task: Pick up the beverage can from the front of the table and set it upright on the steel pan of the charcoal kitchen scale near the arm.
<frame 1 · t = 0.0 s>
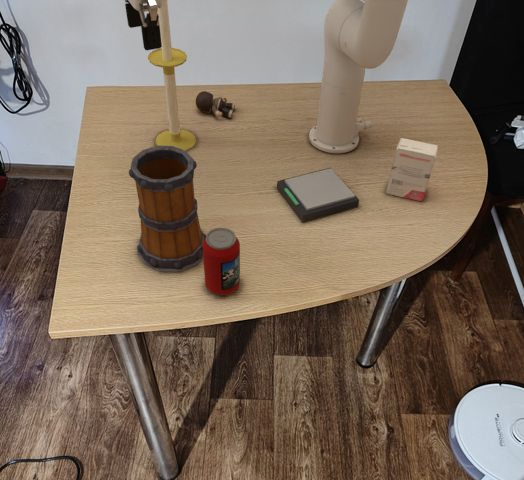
hand: (144, 37, 102), 31 cm above the table, tool pointing down, fingers open, 9 cm apart
beverage can: (222, 285, 108), on the table
scale: (316, 197, 125), on the table
figurine: (215, 112, 145), on the table
mug: (171, 241, 115), on the table
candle: (176, 141, 137), on the table
ink box: (405, 192, 127), on the table
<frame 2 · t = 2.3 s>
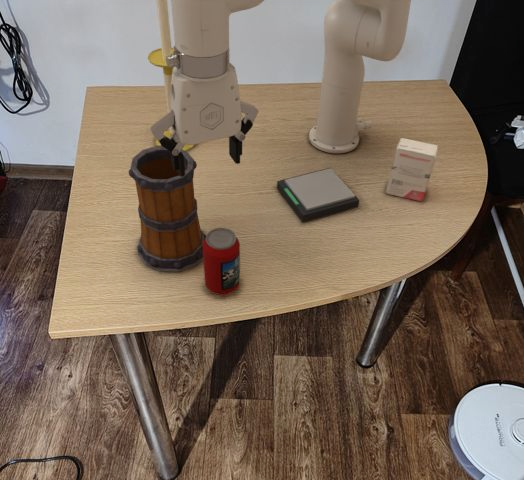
hand: (207, 165, 91), 24 cm above the table, tool pointing down, fingers open, 9 cm apart
nothing on the table moved.
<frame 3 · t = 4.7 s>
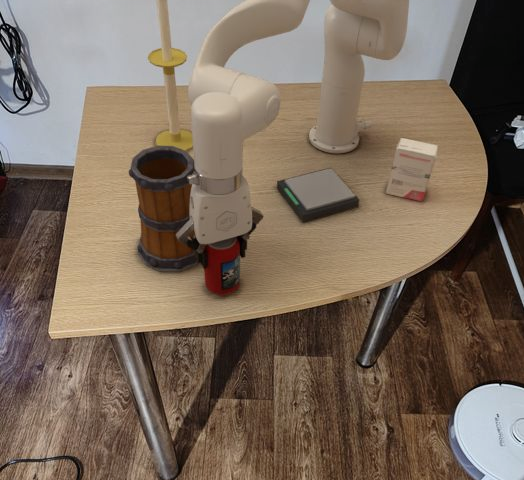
hand: (221, 257, 102), 7 cm above the table, tool pointing down, fingers closed on beverage can, 6 cm apart
beverage can: (222, 285, 108), on the table, touching gripper
everything else where it was.
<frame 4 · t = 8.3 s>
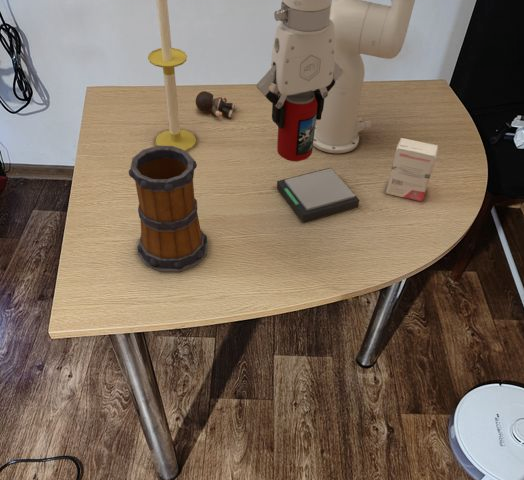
hand: (297, 119, 100), 24 cm above the table, tool pointing down, fingers closed on beverage can, 6 cm apart
beverage can: (294, 154, 106), point 17 cm above the table, touching gripper
everything else where it was.
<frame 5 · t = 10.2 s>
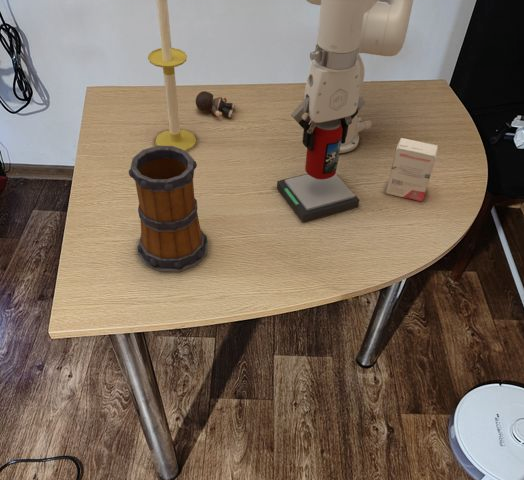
hand: (324, 143, 114), 14 cm above the table, tool pointing down, fingers closed on beverage can, 6 cm apart
beverage can: (320, 173, 120), point 6 cm above the table, touching gripper
everything else where it was.
when the fingers open (10 cm above the table, at t = 11.8 s): beverage can stays where it is, resting on scale.
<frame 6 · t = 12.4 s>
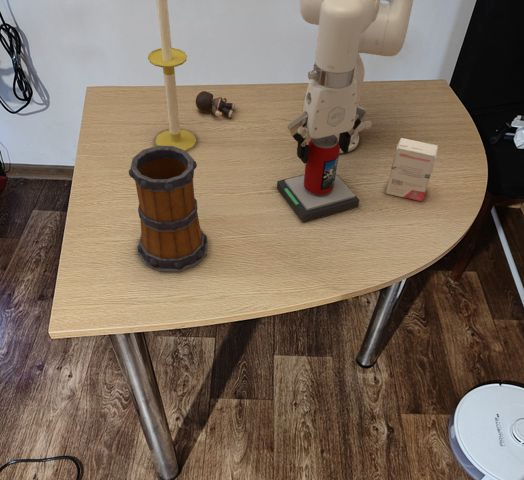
hand: (322, 154, 116), 11 cm above the table, tool pointing down, fingers open, 9 cm apart
beverage can: (318, 188, 123), point 2 cm above the table, touching scale
everything else where it was.
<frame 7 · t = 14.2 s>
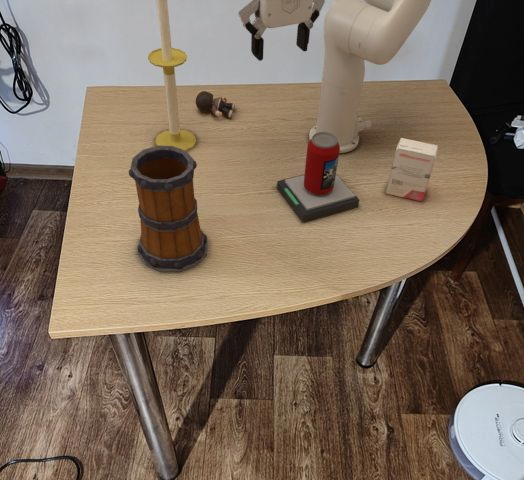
hand: (279, 52, 107), 28 cm above the table, tool pointing down, fingers open, 9 cm apart
nothing on the table moved.
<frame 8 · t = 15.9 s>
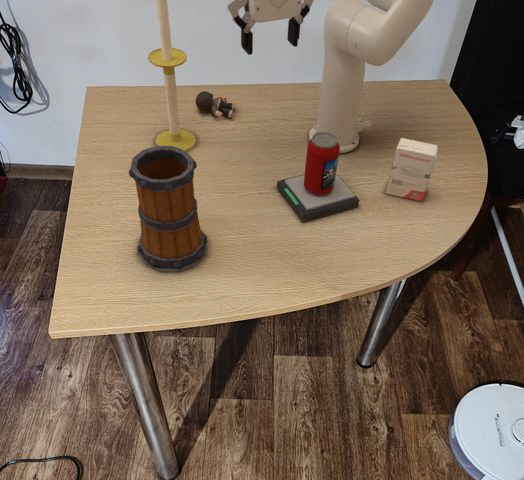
hand: (270, 47, 107), 28 cm above the table, tool pointing down, fingers open, 9 cm apart
nothing on the table moved.
at the end: beverage can inside the target area on the scale (0.1 cm from its centre), point 2.4 cm above the scale's base; beverage can tilted 0°; the gripper is holding nothing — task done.
